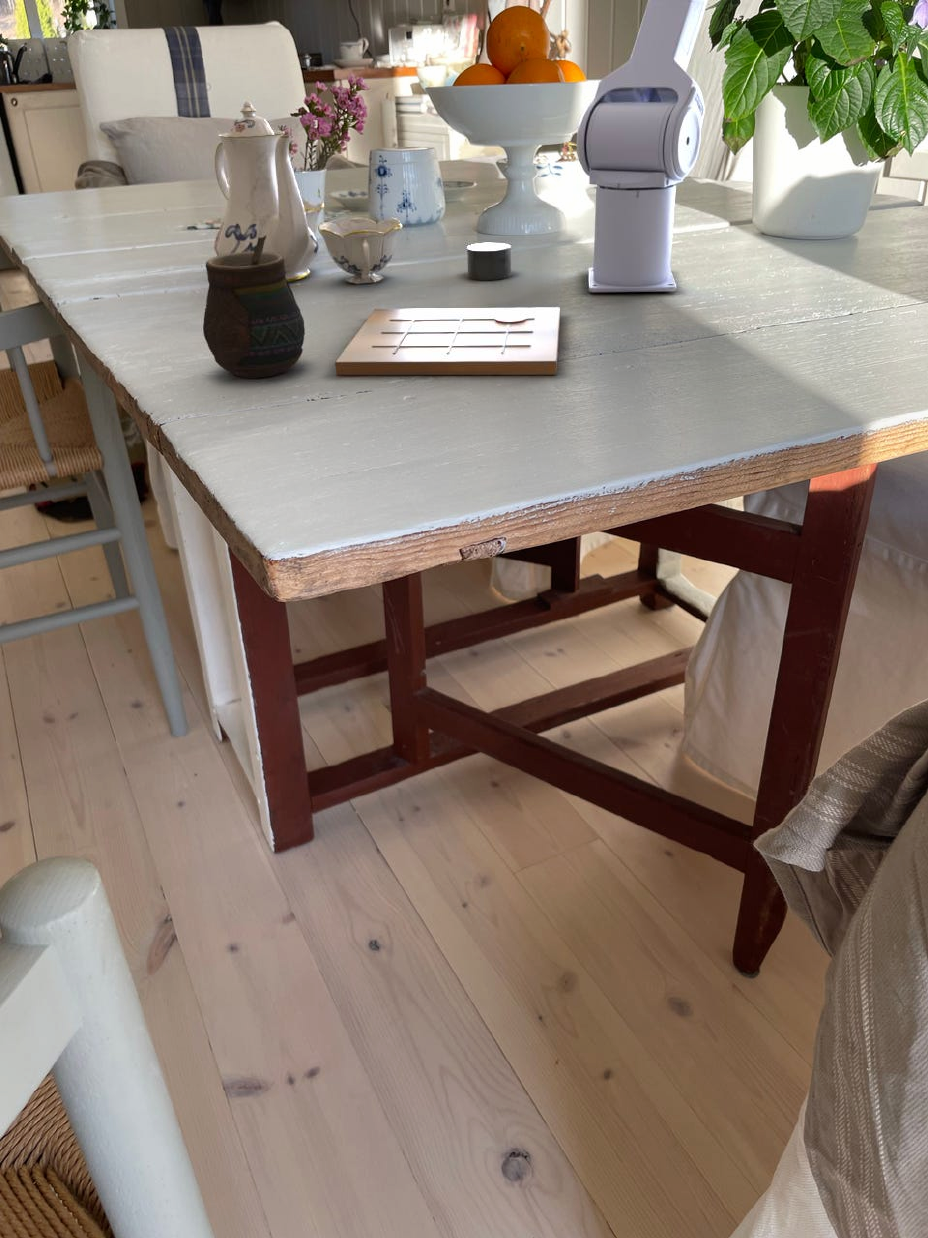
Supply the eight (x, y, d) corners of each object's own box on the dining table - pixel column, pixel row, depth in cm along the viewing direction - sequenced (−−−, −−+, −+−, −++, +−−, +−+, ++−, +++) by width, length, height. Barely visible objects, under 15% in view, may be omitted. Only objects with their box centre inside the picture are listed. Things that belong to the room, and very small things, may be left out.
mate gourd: (274, 350, 77) (256, 216, 72) (331, 369, 72) (316, 226, 67) (194, 371, 73) (169, 229, 68) (248, 391, 68) (226, 241, 63)
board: (375, 320, 85) (374, 307, 84) (560, 318, 83) (560, 305, 82) (336, 375, 71) (334, 360, 70) (556, 374, 69) (556, 359, 69)
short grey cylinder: (470, 271, 101) (469, 242, 100) (512, 270, 101) (512, 242, 99) (465, 280, 97) (465, 251, 96) (509, 279, 97) (509, 250, 95)
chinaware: (434, 294, 99) (440, 111, 92) (292, 305, 90) (286, 101, 82) (292, 259, 118) (288, 104, 111) (162, 265, 108) (147, 96, 101)
